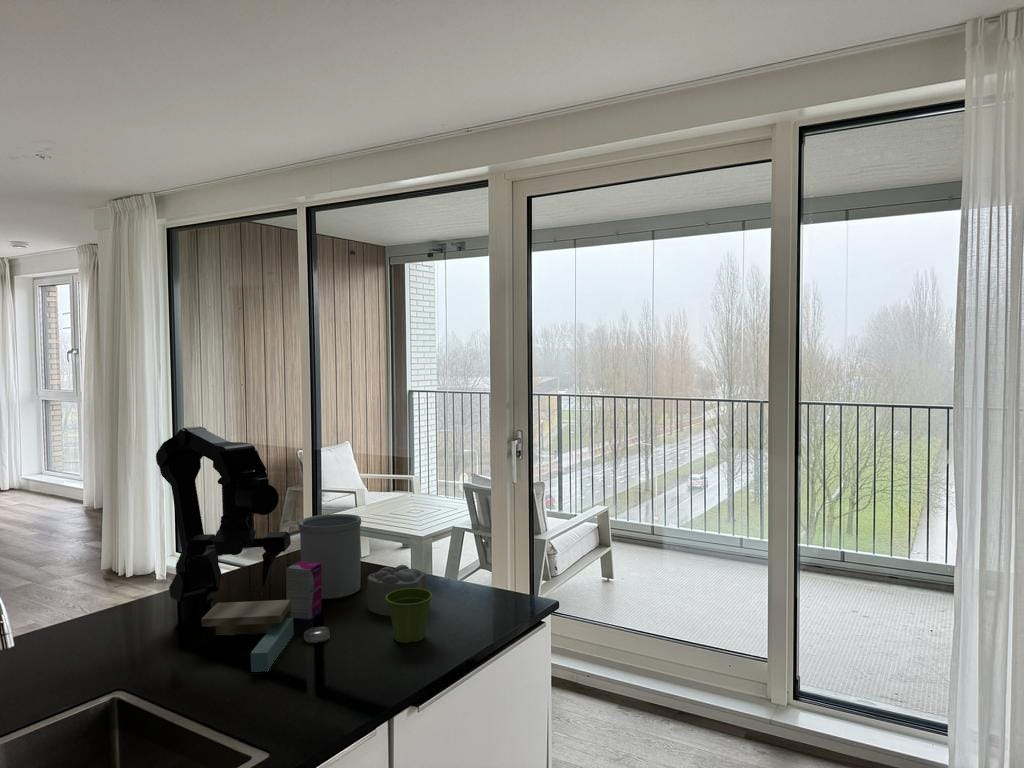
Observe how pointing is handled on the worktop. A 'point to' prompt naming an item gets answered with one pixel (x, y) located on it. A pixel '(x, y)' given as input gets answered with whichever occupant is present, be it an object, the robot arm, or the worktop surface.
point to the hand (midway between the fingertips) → (240, 586)
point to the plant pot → (409, 613)
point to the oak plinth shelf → (246, 616)
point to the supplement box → (304, 590)
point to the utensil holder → (333, 551)
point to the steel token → (317, 634)
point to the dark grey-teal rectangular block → (271, 645)
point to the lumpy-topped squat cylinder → (391, 585)
